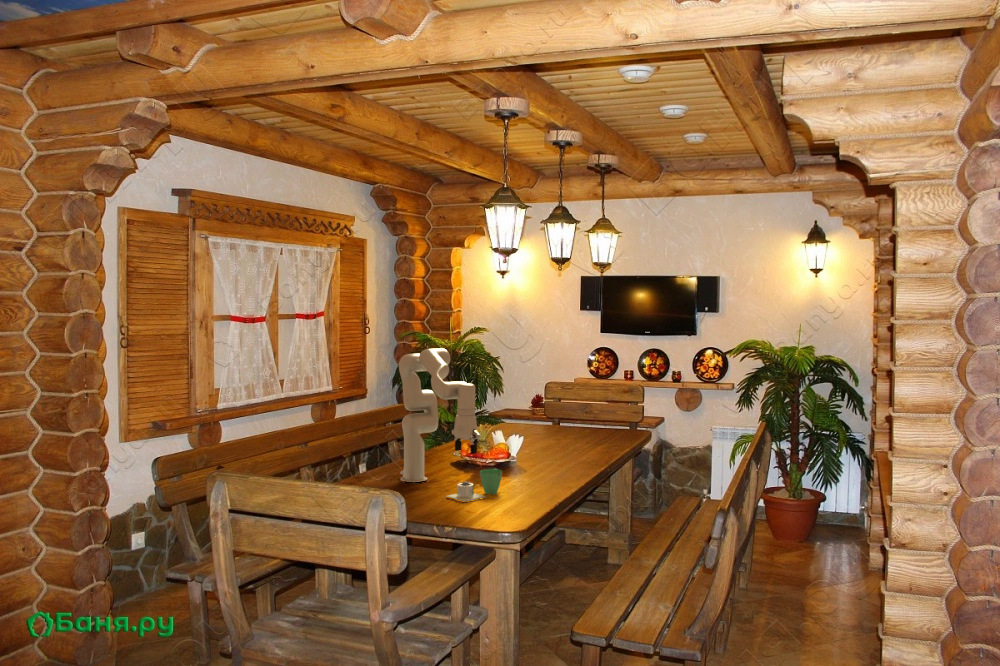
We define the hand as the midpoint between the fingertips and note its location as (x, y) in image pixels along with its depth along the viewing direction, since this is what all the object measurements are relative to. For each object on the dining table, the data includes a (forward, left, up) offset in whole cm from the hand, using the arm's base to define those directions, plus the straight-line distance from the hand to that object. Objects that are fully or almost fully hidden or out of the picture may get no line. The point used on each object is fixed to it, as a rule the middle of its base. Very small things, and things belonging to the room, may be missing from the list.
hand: (465, 452), depth 353 cm
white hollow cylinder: (0, 0, -19) cm, 19 cm away
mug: (0, +16, -20) cm, 26 cm away
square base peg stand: (0, 0, -20) cm, 20 cm away
